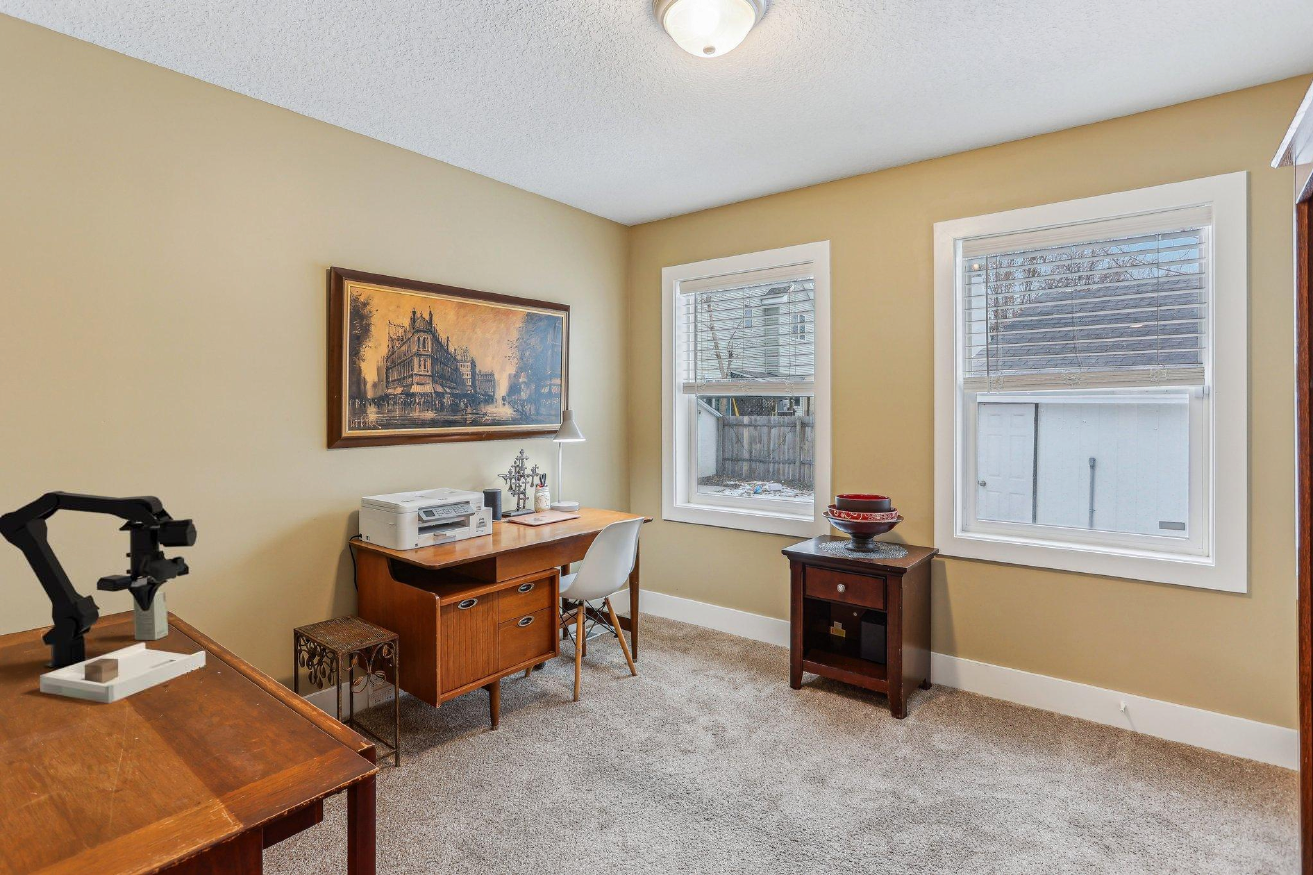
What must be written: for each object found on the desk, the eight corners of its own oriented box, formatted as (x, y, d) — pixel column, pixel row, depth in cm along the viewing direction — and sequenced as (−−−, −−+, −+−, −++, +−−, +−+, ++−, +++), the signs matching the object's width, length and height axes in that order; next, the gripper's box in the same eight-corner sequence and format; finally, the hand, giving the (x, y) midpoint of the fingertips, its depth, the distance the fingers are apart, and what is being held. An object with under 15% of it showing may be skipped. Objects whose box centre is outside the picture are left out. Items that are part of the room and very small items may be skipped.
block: (84, 683, 144) (84, 665, 144) (101, 675, 148) (100, 658, 148) (102, 683, 144) (102, 665, 144) (118, 676, 148) (118, 658, 148)
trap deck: (40, 691, 144) (39, 675, 144) (142, 656, 165) (142, 642, 165) (108, 703, 139) (108, 686, 139) (205, 665, 160) (205, 651, 160)
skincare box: (168, 635, 181) (168, 591, 180) (155, 640, 176) (154, 595, 176) (147, 634, 181) (146, 590, 181) (133, 639, 177) (132, 594, 177)
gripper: (130, 558, 152) (131, 625, 152) (205, 543, 170) (206, 603, 170) (94, 554, 155) (95, 620, 155) (171, 540, 173) (172, 599, 173)
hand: (145, 610), depth 163 cm, fingers closed
